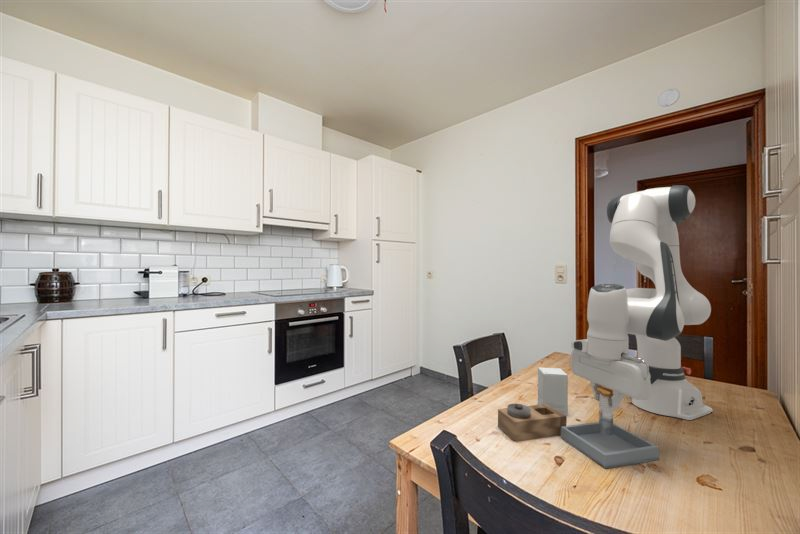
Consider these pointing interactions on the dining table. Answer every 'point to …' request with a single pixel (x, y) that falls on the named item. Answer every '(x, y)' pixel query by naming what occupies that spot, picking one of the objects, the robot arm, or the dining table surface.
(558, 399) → the supplement box
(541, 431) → the block
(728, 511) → the dining table surface
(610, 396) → the pin
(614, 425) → the tray
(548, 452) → the dining table surface
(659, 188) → the robot arm
